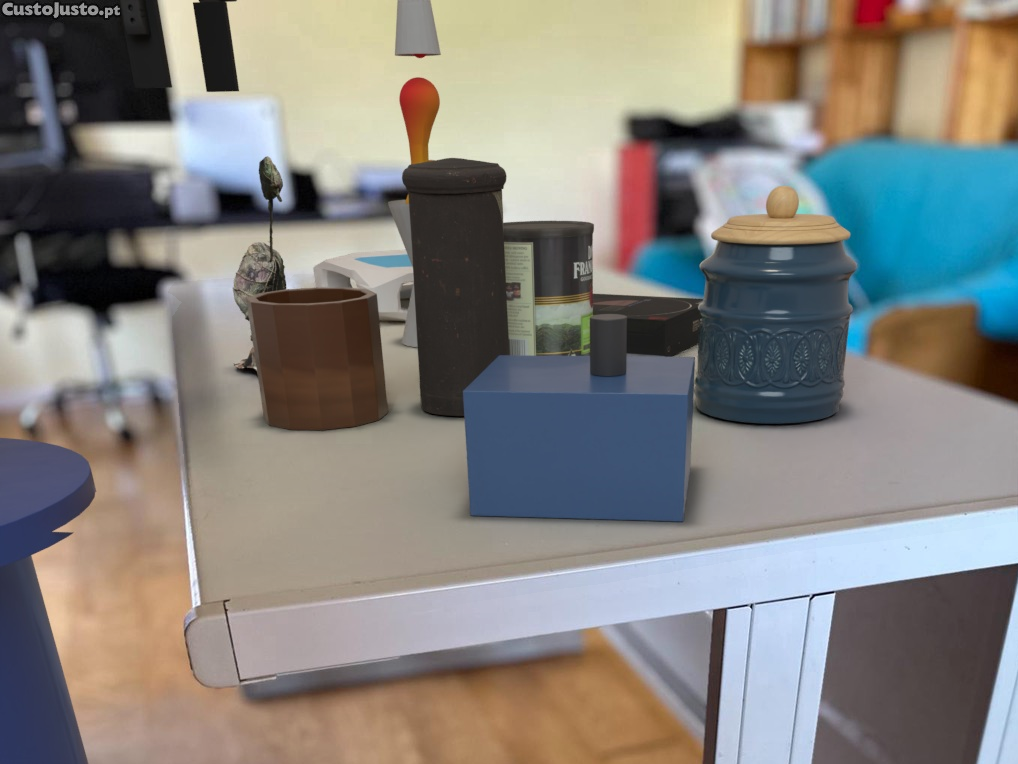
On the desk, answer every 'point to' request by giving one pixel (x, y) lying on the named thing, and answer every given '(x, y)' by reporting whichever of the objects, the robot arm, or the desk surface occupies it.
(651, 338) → the portable cd player
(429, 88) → the lava lamp
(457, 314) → the container
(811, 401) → the canister
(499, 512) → the peg box
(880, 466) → the desk surface
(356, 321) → the brown pot
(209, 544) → the desk surface
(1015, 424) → the desk surface
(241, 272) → the plant with pod
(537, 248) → the coffee can
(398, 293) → the white boxy piece
